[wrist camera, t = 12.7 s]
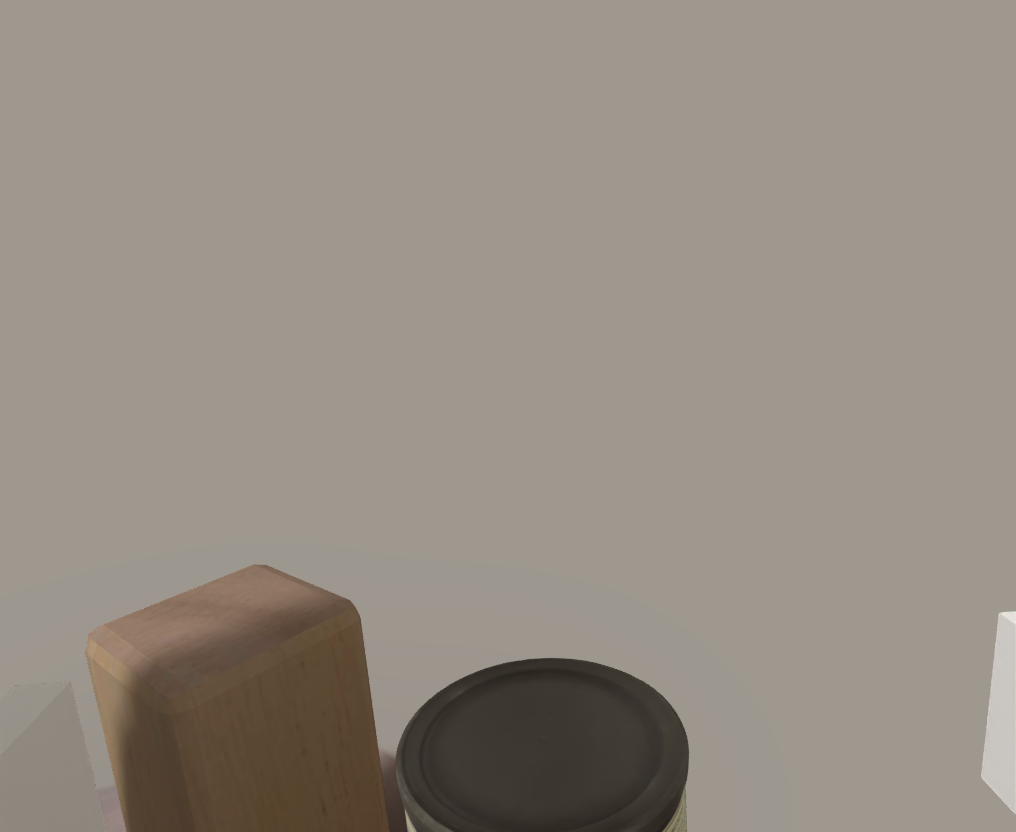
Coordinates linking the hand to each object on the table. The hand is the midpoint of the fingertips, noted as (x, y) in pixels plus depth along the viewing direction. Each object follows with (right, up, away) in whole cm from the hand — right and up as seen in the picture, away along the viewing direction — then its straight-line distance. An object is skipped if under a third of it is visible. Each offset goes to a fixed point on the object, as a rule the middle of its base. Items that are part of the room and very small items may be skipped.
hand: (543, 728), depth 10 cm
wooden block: (-13, -25, +29) cm, 40 cm away
